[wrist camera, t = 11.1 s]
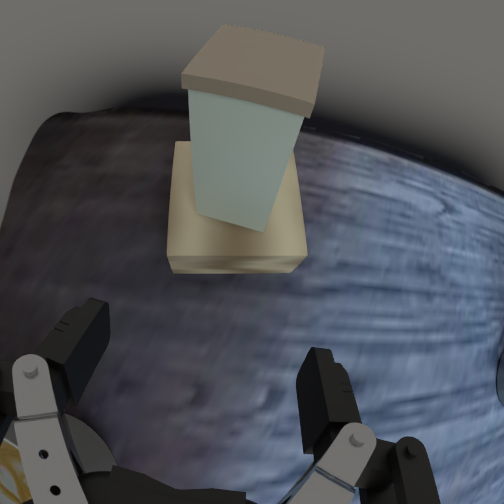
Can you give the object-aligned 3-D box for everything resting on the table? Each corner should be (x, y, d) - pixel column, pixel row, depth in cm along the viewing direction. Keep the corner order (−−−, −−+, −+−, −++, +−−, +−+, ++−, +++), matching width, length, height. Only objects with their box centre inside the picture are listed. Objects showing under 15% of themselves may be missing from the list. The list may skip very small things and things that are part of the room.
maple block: (279, 176, 30) (292, 146, 25) (289, 273, 27) (307, 255, 22) (178, 173, 28) (175, 141, 24) (173, 274, 25) (166, 255, 20)
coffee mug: (20, 398, 18) (-50, 406, 9) (117, 425, 20) (68, 461, 10) (35, 514, 14) (-12, 551, 4) (126, 543, 15) (102, 603, 6)
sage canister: (281, 176, 24) (325, 47, 12) (265, 235, 22) (314, 104, 10) (216, 159, 24) (223, 24, 12) (192, 215, 21) (181, 73, 10)
